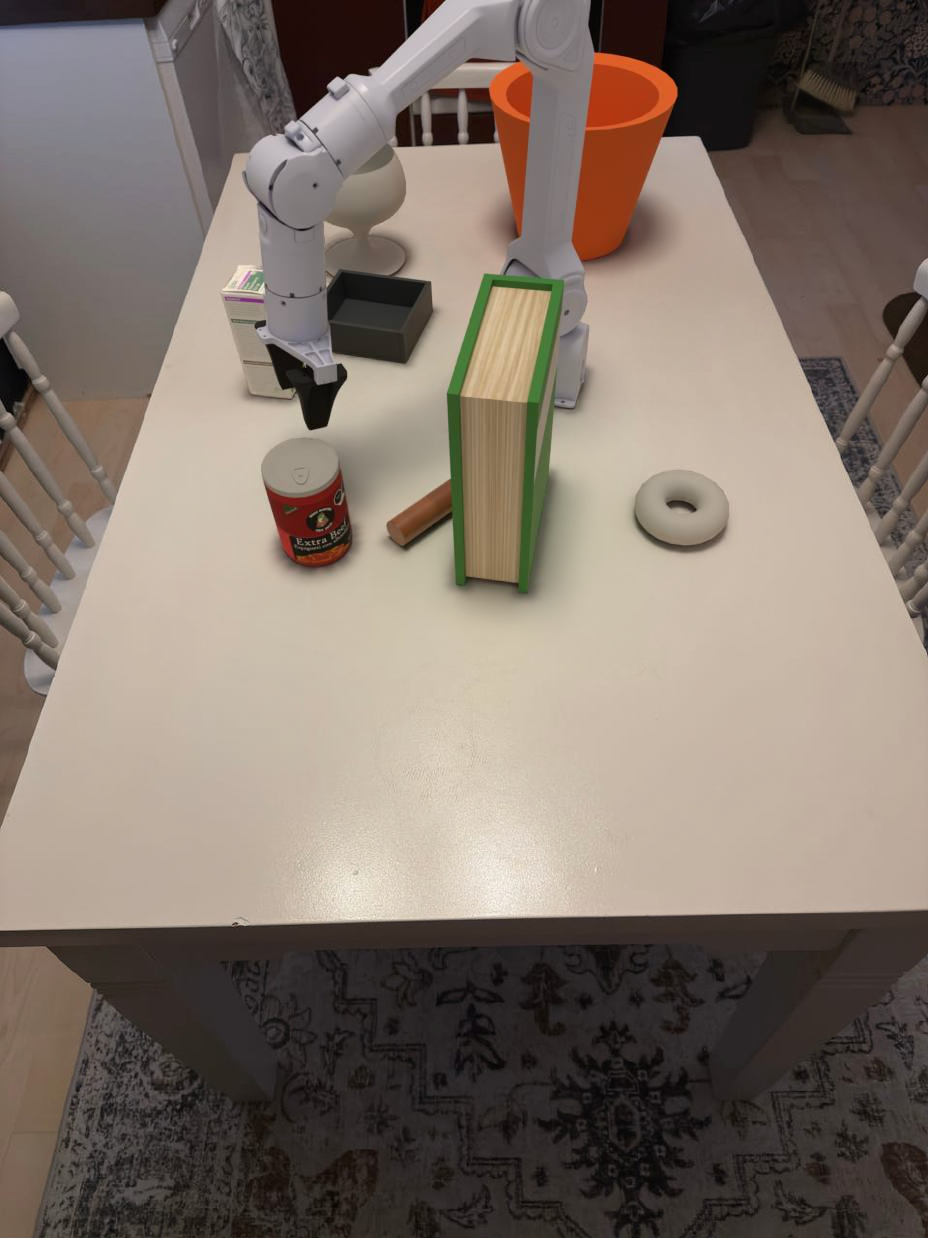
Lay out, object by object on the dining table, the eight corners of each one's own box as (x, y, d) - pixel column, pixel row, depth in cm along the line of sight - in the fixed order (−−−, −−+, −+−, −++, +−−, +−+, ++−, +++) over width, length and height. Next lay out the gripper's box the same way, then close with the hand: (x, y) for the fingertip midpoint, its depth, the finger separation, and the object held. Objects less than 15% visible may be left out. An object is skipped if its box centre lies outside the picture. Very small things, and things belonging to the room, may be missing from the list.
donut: (717, 562, 87) (732, 495, 92) (725, 540, 84) (739, 473, 90) (623, 540, 89) (642, 476, 95) (627, 518, 86) (647, 454, 92)
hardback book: (527, 593, 85) (538, 402, 66) (455, 584, 86) (446, 393, 67) (548, 474, 95) (564, 279, 76) (484, 467, 96) (484, 273, 77)
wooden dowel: (454, 490, 94) (452, 470, 92) (473, 502, 93) (471, 481, 90) (388, 537, 90) (384, 517, 88) (406, 550, 88) (402, 529, 86)
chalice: (430, 252, 125) (424, 146, 113) (375, 297, 118) (362, 189, 106) (355, 227, 129) (341, 123, 117) (298, 270, 122) (277, 164, 110)
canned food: (297, 578, 87) (276, 502, 78) (271, 529, 91) (248, 452, 82) (365, 552, 89) (352, 475, 80) (336, 504, 93) (321, 427, 84)
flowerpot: (587, 177, 137) (600, 38, 122) (688, 244, 124) (717, 98, 108) (458, 221, 130) (454, 79, 114) (551, 296, 117) (561, 148, 101)
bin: (433, 311, 115) (431, 280, 112) (405, 363, 108) (403, 333, 105) (343, 298, 118) (339, 268, 114) (311, 349, 111) (305, 318, 107)
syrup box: (292, 400, 104) (268, 294, 93) (248, 395, 105) (218, 289, 93) (307, 372, 108) (285, 266, 96) (263, 367, 108) (237, 262, 97)
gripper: (228, 253, 80) (243, 377, 90) (281, 329, 72) (292, 455, 82) (297, 243, 83) (305, 364, 93) (357, 315, 75) (358, 438, 85)
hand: (303, 406), depth 88 cm, fingers open, 7 cm apart
